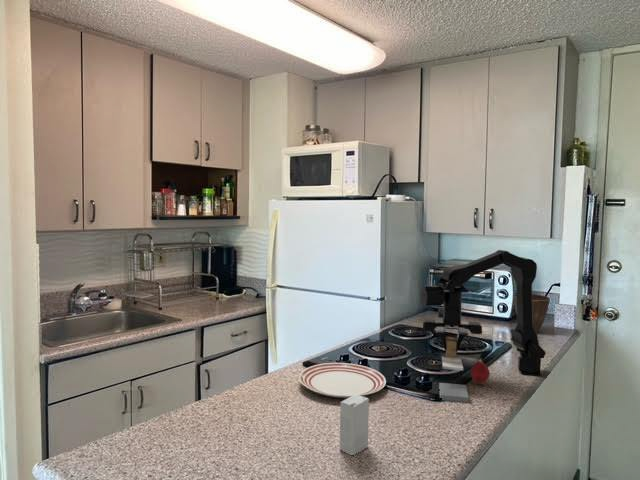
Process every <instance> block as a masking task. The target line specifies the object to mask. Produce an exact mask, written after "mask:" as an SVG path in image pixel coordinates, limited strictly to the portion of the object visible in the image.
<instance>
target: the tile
mask: <svg viewBox="0 0 640 480" xmlns="http://www.w3.org/2000/svg"><path fill="white" fill-rule="evenodd" d="M438 388H439V389H440V391H439V399H440V398H442V400H441V401H446V402H456V403H466V404H468V403H469V401H470V399H469V394H468V389H467V385H466V384H460V383H459V384H458V383H457V384H456V383H448V382H439V383H438Z"/></svg>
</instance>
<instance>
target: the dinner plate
mask: <svg viewBox="0 0 640 480" xmlns="http://www.w3.org/2000/svg"><path fill="white" fill-rule="evenodd" d="M298 380H299V382H300V384H301V385H303V386H304V387H305V388H307V389H308V390H311V391H312V392H314V393H316V394H318V395H319V394H320V395H323V396H327V397H331V398H336V399H337V398H341V399H348V398H349V397H351V396H353V395H359V396H362V397H365V396H368V395H372V394H374V393H377V392H380V391H381V390H382V389H383V388H384V387H385V386H386V383H387V380H386V377H385V376H384V375H383V374H382V373H381V372H379V371H378V370H377V369H374V368H371V367H368V366H365V365H361V364H354V363H348V362H325V363H320V364H319V363H318V364H315V365H312V366H308V367H307V368H305V369H303V370H302V371H301V372H300V373H299V375H298Z"/></svg>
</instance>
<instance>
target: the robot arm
mask: <svg viewBox="0 0 640 480" xmlns="http://www.w3.org/2000/svg"><path fill="white" fill-rule="evenodd" d="M500 265H505V266H507V267H509V268H510V271H511V276H512V279H513V280H514V281H515V284H516V285H515V287H516V288H515V290H516V294H517V314H516V318H517V320H516V322H517V323H516V326H515V328H514V329H513V328H511V329H510V333H511V338H510V341H511V342H512V344H513V346H514V347H515V348H516V351H517V352H519V356H518V357H517V368H516V369H517V370H518V371H519V373H520V374H521V375H527V376H541V377H542V373H541V363H542V362H541V361H542V359H545V355H546V351H545V350H544V349H543V348H542V347H541V346H540V343H539V342H540V341H539V338H538V333H536V332H535V329H534V327H533V315H532V294H533V283H534V281H535V279H536V277H537V270H538V264H537V262H536V261H534V260H533V259H530V258H527V257H521V256H518V255H515V254H513V253H511V252H510V251H508V250H502V249H498V250H497V251H495V252H493V253H489V254H487V255H485V256H483V257H480V258H478V259H475V260H472V261H471V262H469V263H465V264H457V265H451V266H447V267H445V268H444V269H443V271H442V272H441V273H442V275H441V276H440V278H439V279H438V280H437V282H436V283H435V284H434V285H428V284H427V285H426V284H425V285H423V286H422V287H423V288H422V290H421V293H420V295H419V296H420V303H421V304H420V305H422V306H423V307H440V308H438V311H437V318H438V319H442V322H439V321H438V322H436V319H435V318H434V319H433V318H424V319H423V320H422V331H425V332H426V331H427V332H433V331H435V334H436V335H438V336H439V337H440V339H441V342H442V346H443V349H444V352H445V353H446V349H447V346H446V337H447V336H446V331H445V330H457V334H456V335H457V336H456V353H457V352H458V351H459V348H460V346H461V344H462V342H463V340H464V338H465V337H468V336H469V333H468V332H470V333H471V334H472V335H483V326H482V323H480V321H470V320H469V321H468V322H467V323H462V302H463V300H462V299H463V298H462V297H463V293H469V290H468V289H467V288H466V287H465V285H464V284H466V283H467V282H469V281H470V280H471V279H472V278H473V277H474V276H476V275H479V274H481V273H483V272H486V271H489V270H491V269H494V268H496V267H498V266H500ZM442 305H443V308H441V306H442Z"/></svg>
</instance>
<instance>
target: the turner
mask: <svg viewBox="0 0 640 480" xmlns="http://www.w3.org/2000/svg"><path fill="white" fill-rule="evenodd" d="M445 337H446V346H447V349H446V352H445V356H441V362H442V369H443V370H452V371H464V366H463V361H462V358H461V357H457V352H456V341H457V337H451V336H445Z"/></svg>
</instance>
